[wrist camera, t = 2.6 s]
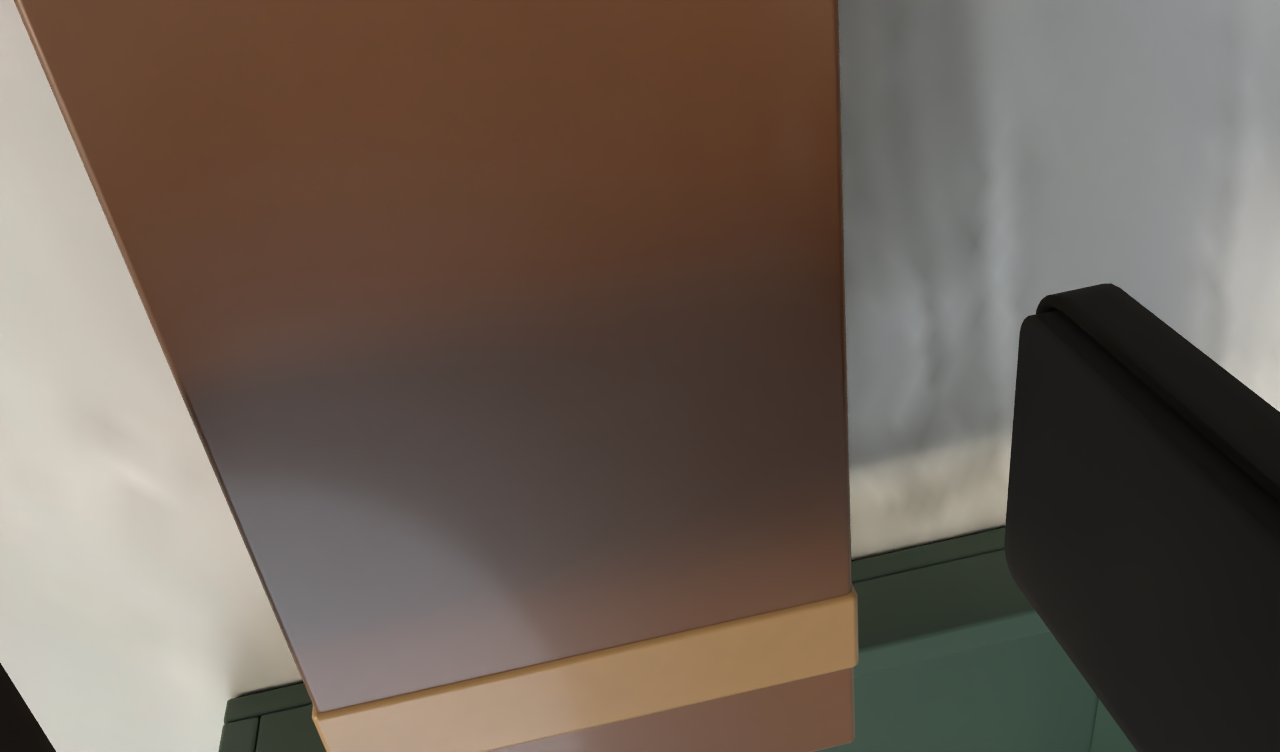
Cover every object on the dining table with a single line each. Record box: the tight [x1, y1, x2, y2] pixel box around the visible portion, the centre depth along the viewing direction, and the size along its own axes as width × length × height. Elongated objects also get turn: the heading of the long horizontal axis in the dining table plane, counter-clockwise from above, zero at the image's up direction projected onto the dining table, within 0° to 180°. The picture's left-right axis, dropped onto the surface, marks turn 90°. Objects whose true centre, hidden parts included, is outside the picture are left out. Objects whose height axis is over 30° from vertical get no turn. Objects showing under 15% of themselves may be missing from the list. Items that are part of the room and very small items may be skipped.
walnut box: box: [14, 0, 859, 752], centre depth 12 cm, size 11×6×5 cm, turn 7°
